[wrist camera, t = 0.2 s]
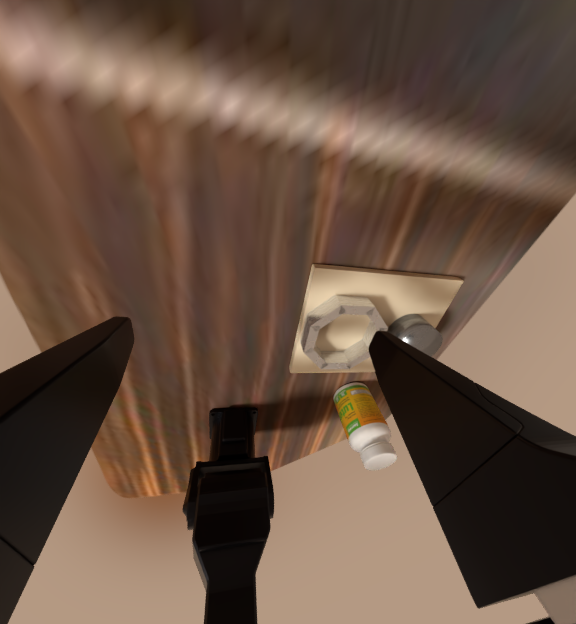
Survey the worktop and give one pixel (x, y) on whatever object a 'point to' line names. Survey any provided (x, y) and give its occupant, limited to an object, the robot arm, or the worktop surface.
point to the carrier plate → (383, 295)
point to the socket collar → (329, 313)
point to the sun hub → (417, 333)
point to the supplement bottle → (364, 425)
